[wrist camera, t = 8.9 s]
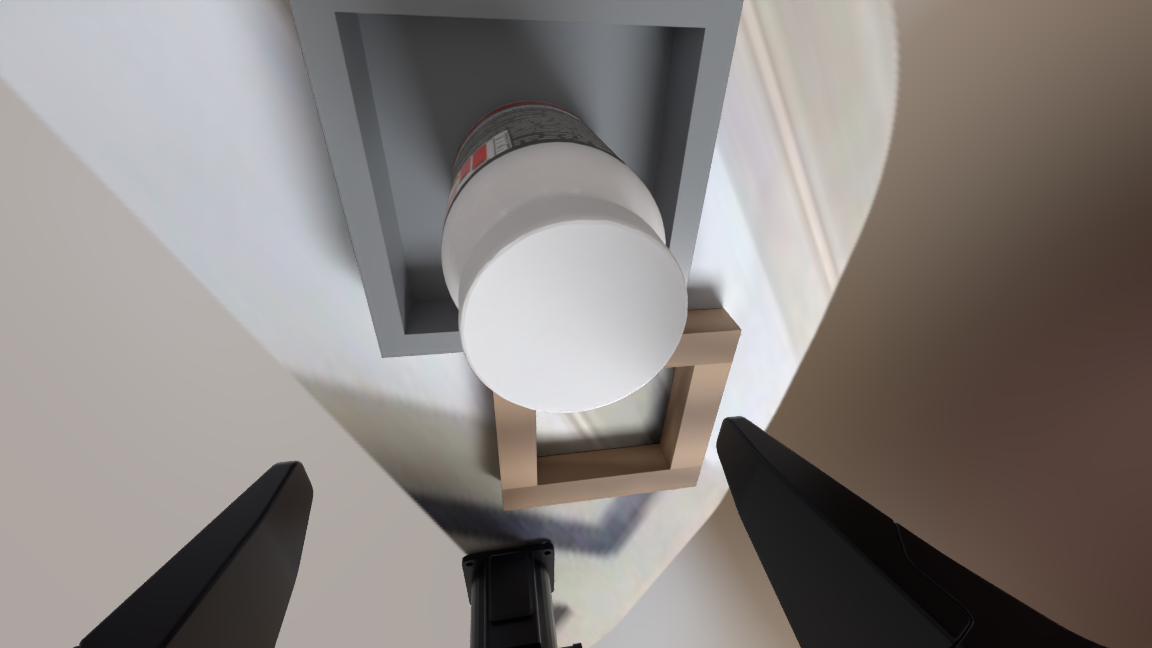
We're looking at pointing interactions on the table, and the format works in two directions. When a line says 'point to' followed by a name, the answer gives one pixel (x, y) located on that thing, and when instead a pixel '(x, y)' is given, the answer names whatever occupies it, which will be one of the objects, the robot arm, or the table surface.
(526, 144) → the pill bottle
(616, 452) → the socket block
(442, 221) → the parts tray
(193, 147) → the table surface
